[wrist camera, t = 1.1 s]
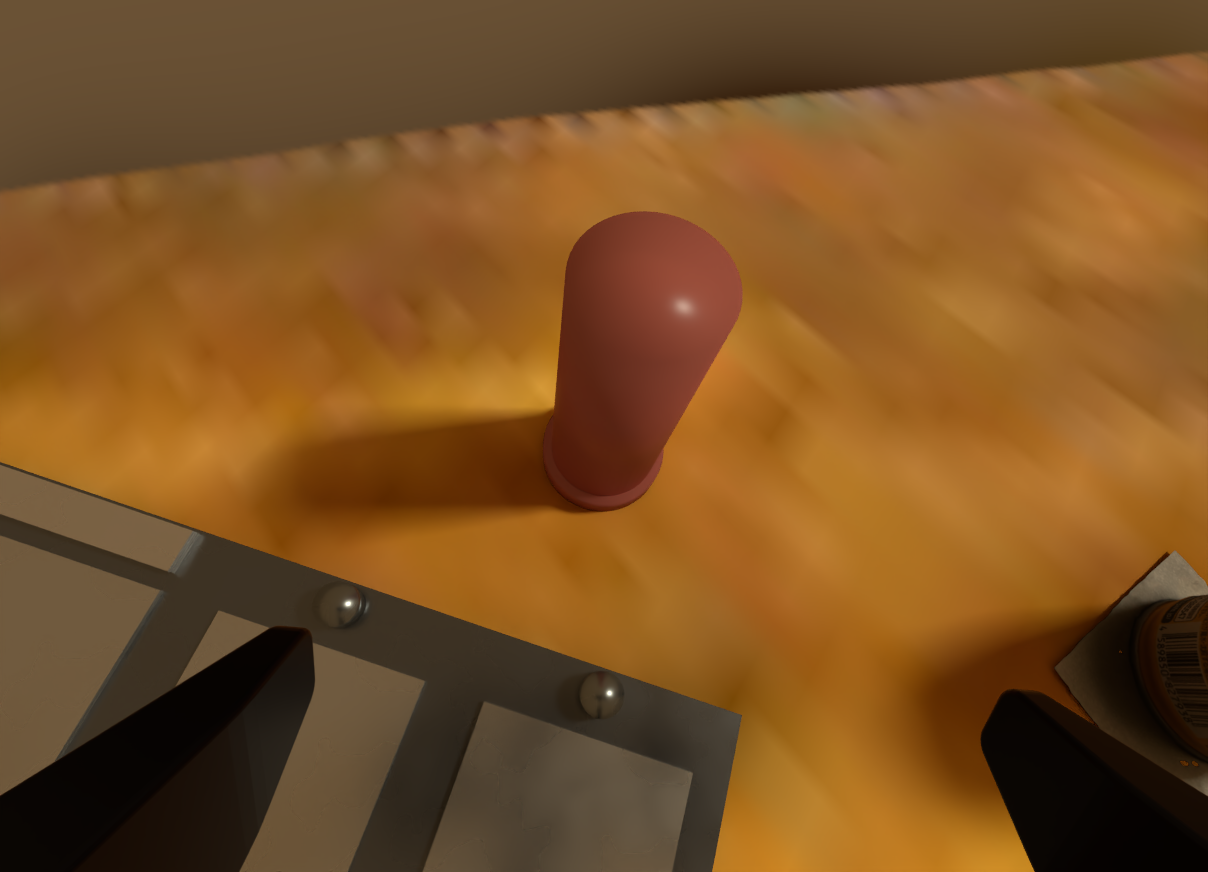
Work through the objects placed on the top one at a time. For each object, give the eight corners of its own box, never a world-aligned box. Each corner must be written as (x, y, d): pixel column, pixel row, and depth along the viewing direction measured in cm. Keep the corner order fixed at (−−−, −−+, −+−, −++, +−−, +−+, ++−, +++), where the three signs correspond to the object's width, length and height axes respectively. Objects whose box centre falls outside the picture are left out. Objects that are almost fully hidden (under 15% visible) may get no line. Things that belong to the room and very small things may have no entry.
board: (661, 1099, 16) (672, 1136, 15) (-268, 773, 16) (-336, 781, 15) (735, 714, 20) (750, 716, 19) (-12, 459, 20) (-48, 444, 19)
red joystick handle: (640, 527, 22) (731, 401, 12) (525, 488, 22) (521, 331, 12) (670, 423, 24) (772, 238, 14) (565, 388, 24) (588, 178, 14)
